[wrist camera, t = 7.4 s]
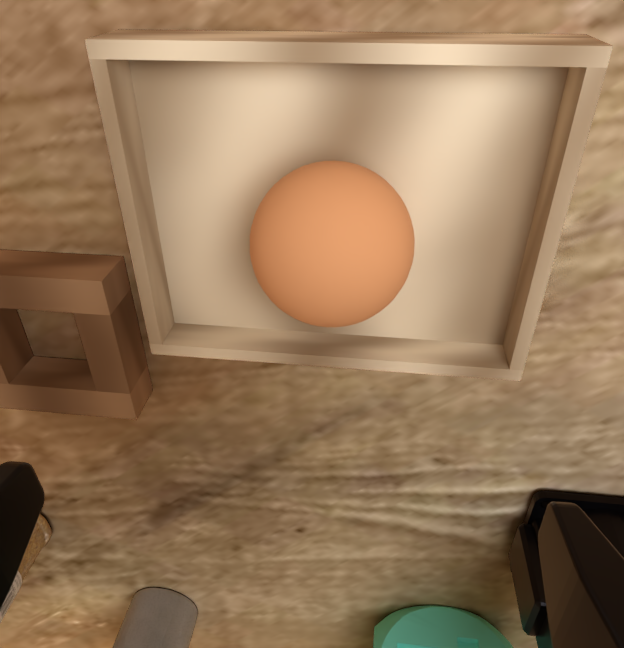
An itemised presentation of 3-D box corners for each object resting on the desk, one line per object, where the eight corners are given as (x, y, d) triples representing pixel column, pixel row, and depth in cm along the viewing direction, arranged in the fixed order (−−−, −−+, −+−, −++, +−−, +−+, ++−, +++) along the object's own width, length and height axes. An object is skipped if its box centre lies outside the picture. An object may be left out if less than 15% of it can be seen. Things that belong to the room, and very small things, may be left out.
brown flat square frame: (123, 256, 22) (101, 281, 20) (153, 389, 26) (136, 419, 24) (-40, 247, 22) (-74, 270, 21) (13, 378, 26) (-12, 406, 25)
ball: (418, 141, 17) (430, 201, 13) (403, 280, 20) (409, 365, 16) (261, 137, 18) (225, 194, 13) (268, 273, 20) (240, 355, 16)
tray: (586, 34, 16) (613, 46, 14) (509, 344, 22) (520, 381, 20) (118, 29, 17) (84, 39, 15) (171, 321, 23) (151, 353, 21)
